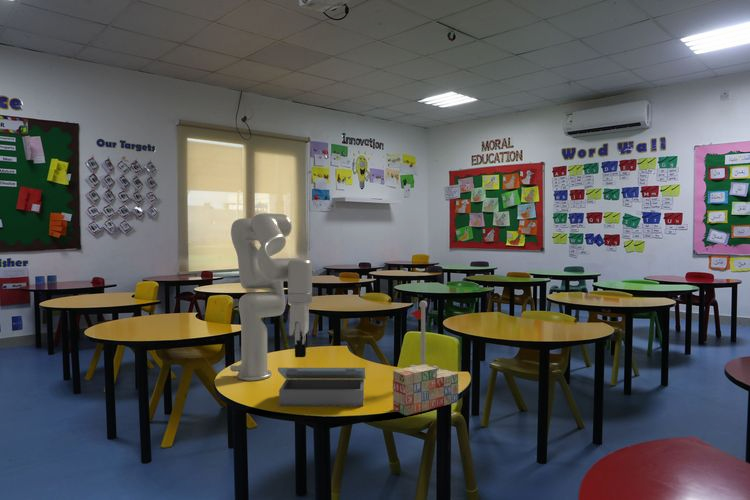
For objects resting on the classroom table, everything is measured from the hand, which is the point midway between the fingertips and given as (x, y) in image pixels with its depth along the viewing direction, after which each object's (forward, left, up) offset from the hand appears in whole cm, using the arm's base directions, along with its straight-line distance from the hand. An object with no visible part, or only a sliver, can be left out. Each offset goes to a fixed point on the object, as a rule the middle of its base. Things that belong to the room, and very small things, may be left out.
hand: (300, 356), depth 150 cm
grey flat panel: (+7, +3, -8) cm, 11 cm away
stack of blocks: (+39, -2, -15) cm, 42 cm away
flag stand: (+41, +21, -15) cm, 48 cm away
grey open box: (+7, +3, -15) cm, 17 cm away
